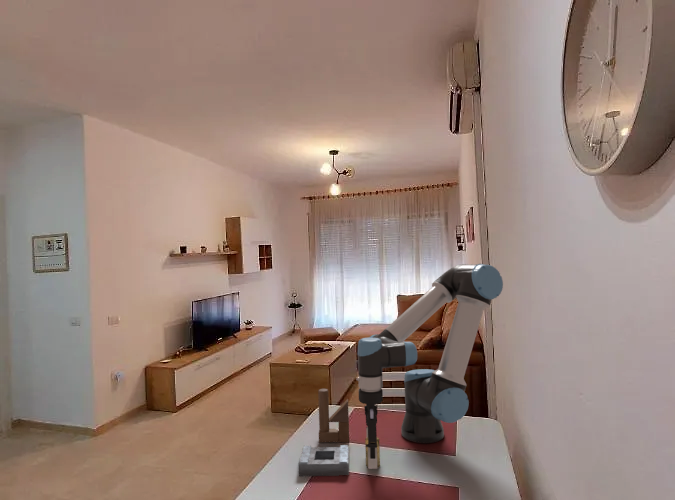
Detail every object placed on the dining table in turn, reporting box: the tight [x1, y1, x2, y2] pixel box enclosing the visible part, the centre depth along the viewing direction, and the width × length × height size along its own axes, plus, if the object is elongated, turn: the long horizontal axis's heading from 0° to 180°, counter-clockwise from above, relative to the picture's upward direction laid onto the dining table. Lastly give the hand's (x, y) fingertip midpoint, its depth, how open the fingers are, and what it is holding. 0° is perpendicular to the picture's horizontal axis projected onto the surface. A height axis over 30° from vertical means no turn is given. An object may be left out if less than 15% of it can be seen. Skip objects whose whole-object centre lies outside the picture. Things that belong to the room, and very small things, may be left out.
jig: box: [298, 444, 350, 477], centre depth 127 cm, size 15×11×4 cm
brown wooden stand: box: [317, 388, 350, 443], centre depth 145 cm, size 4×11×18 cm, turn 87°
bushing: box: [364, 437, 381, 469], centre depth 127 cm, size 4×4×8 cm
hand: (371, 457), depth 127 cm, fingers open, 13 cm apart
